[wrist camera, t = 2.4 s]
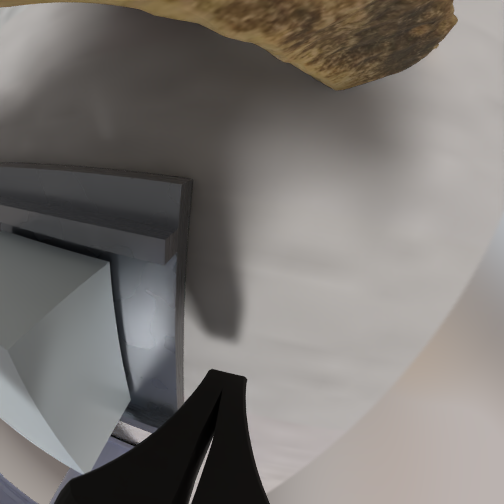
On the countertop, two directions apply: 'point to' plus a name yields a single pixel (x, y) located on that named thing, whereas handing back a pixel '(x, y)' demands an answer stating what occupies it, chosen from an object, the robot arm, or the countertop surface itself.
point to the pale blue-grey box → (59, 350)
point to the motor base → (118, 261)
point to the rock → (316, 31)
